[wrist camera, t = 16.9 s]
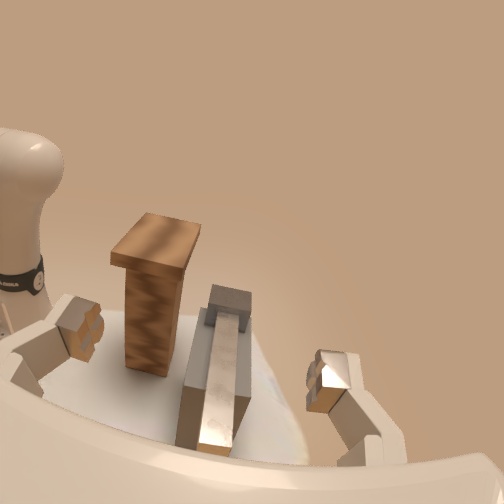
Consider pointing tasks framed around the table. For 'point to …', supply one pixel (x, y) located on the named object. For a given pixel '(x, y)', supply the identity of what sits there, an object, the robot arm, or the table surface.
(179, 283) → the brown wooden post
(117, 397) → the table surface
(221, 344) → the link bar
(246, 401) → the pedestal
